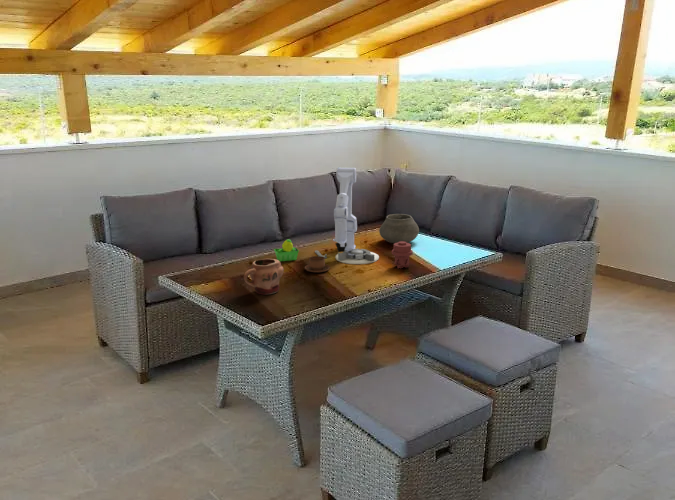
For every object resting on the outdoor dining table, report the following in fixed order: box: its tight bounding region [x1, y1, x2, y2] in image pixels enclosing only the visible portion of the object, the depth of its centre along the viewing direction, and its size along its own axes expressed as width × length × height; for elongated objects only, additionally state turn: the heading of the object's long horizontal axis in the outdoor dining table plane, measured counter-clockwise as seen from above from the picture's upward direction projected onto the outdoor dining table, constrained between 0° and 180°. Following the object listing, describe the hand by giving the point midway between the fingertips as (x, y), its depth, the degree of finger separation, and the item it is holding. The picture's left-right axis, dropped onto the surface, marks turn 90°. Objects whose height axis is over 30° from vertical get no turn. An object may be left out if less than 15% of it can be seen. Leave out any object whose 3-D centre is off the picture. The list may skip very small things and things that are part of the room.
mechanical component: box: [391, 241, 414, 269], centre depth 292 cm, size 12×10×10 cm
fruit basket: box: [273, 238, 300, 262], centre depth 305 cm, size 11×9×11 cm
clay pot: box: [378, 213, 420, 245], centre depth 336 cm, size 22×21×15 cm
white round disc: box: [335, 249, 380, 265], centre depth 309 cm, size 22×22×4 cm
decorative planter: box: [243, 258, 285, 296], centre depth 257 cm, size 20×12×14 cm, turn 139°
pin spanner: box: [314, 249, 328, 259], centre depth 315 cm, size 13×3×2 cm, turn 15°
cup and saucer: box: [304, 255, 331, 274], centre depth 289 cm, size 12×12×6 cm
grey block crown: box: [337, 248, 371, 260], centre depth 308 cm, size 13×17×4 cm
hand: (341, 256), depth 306 cm, fingers closed
